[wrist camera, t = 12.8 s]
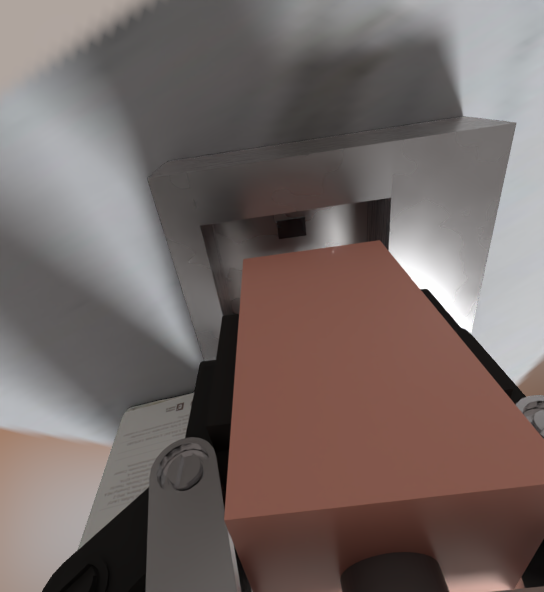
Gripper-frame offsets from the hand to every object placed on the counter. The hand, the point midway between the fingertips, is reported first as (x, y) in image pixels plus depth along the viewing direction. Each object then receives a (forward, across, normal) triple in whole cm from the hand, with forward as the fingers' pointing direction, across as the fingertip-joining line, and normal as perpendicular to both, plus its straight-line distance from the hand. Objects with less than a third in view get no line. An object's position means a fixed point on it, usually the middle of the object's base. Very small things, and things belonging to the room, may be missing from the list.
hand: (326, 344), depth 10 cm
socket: (+6, -1, +2) cm, 7 cm away
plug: (+2, 0, 0) cm, 2 cm away
